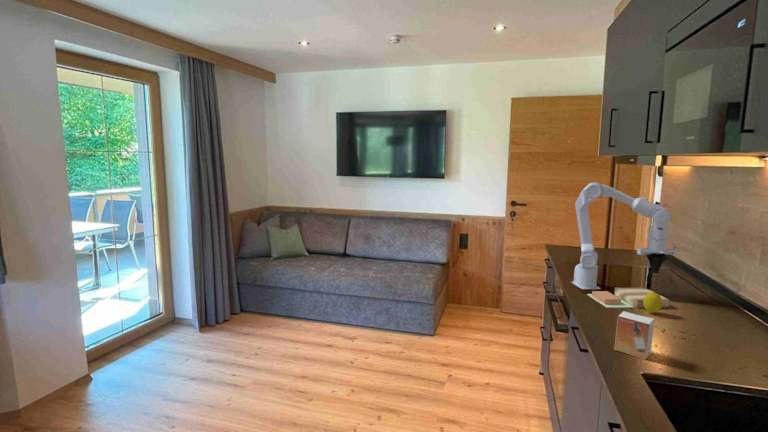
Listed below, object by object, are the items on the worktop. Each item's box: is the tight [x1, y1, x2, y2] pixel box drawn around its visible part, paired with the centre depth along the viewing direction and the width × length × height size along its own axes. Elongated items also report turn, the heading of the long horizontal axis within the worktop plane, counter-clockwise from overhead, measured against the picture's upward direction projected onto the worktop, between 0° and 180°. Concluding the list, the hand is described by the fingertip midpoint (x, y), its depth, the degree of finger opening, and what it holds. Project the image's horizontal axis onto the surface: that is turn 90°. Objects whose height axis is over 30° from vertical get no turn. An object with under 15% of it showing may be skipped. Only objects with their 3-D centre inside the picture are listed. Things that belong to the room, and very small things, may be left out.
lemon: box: [643, 291, 662, 314], centre depth 144 cm, size 6×6×8 cm
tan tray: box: [613, 287, 670, 309], centre depth 156 cm, size 14×12×3 cm
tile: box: [591, 290, 621, 304], centre depth 156 cm, size 9×6×2 cm, turn 2°
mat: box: [586, 293, 635, 309], centre depth 156 cm, size 14×10×1 cm
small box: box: [613, 310, 656, 360], centre depth 115 cm, size 8×6×10 cm
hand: (654, 272), depth 160 cm, fingers closed
